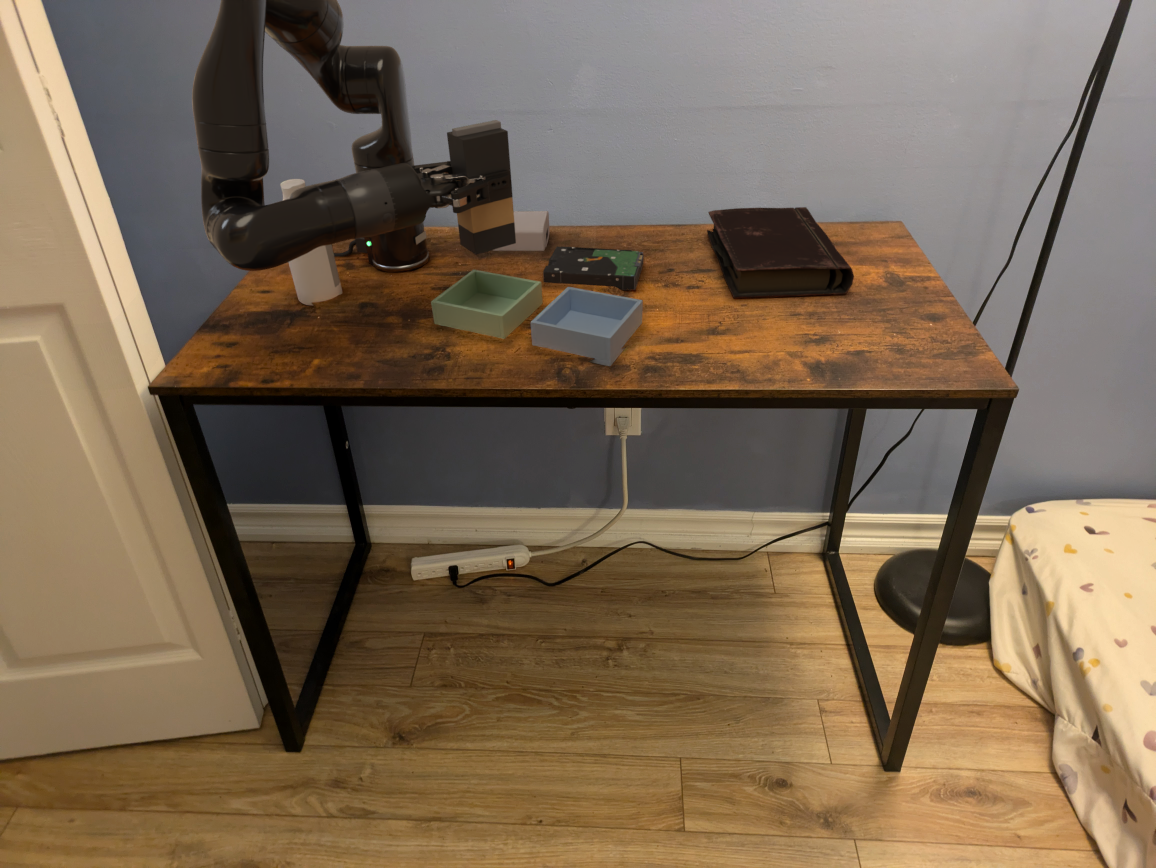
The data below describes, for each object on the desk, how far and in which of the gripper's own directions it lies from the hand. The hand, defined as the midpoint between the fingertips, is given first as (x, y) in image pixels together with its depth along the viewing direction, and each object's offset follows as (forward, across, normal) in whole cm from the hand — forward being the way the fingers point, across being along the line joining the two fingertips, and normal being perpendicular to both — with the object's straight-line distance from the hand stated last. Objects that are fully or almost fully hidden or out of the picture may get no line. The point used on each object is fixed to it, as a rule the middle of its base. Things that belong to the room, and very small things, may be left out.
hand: (499, 173), depth 101 cm
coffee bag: (-3, 0, +9) cm, 10 cm away
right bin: (+5, -13, +21) cm, 25 cm away
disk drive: (+18, +3, +21) cm, 28 cm away
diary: (+43, -11, +21) cm, 49 cm away
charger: (+13, +23, +21) cm, 34 cm away
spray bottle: (-21, +23, +21) cm, 38 cm away
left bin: (-3, +1, +21) cm, 21 cm away
